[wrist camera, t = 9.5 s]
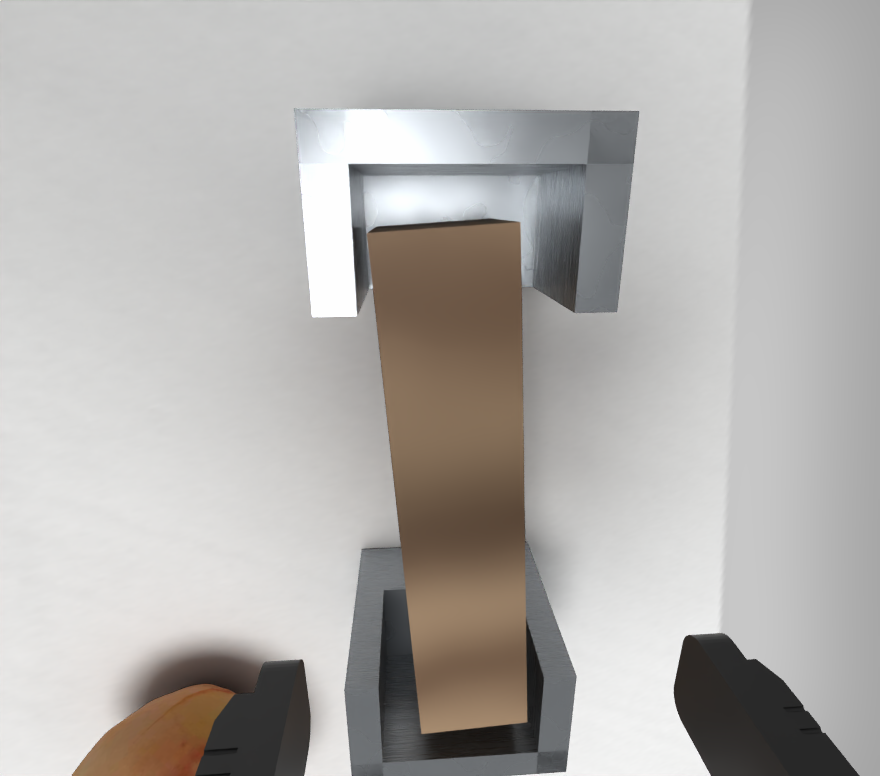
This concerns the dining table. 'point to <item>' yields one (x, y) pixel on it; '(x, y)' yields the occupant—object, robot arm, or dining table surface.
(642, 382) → the dining table surface
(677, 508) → the dining table surface
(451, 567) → the rail
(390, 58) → the dining table surface
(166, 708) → the onion
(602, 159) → the cup brackets
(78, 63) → the dining table surface
